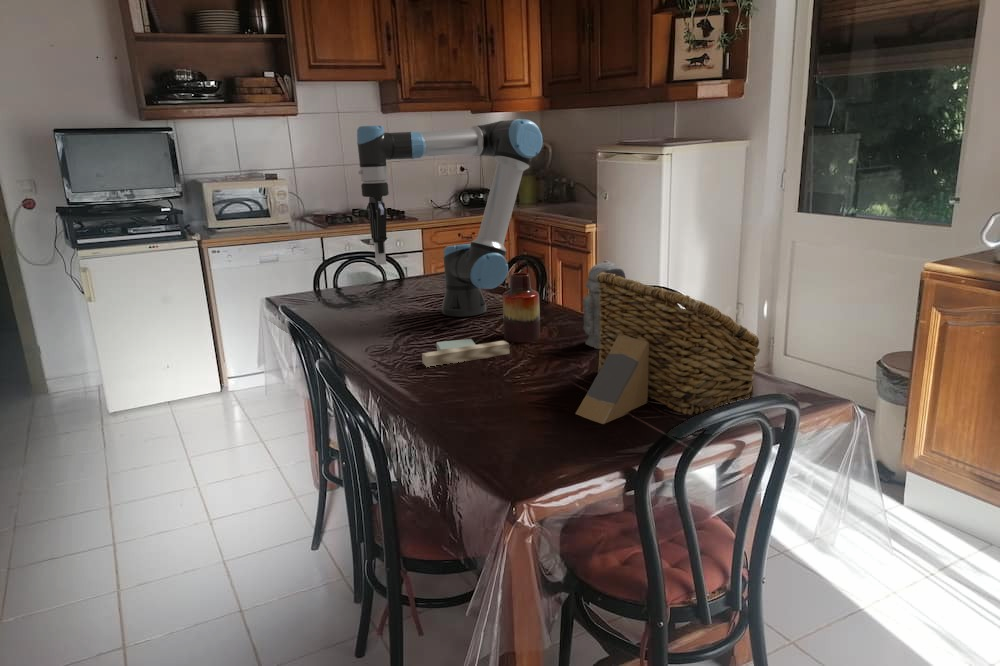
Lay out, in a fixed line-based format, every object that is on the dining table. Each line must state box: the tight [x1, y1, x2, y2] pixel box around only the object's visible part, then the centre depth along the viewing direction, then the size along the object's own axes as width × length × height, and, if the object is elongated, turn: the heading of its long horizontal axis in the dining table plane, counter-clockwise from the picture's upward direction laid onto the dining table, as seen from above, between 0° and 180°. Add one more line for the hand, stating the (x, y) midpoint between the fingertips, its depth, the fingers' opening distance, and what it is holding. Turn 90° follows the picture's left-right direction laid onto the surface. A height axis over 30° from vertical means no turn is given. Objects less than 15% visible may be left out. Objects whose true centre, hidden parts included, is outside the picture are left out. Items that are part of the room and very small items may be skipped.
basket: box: [596, 272, 761, 416], centre depth 167 cm, size 36×26×27 cm
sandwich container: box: [574, 335, 649, 425], centre depth 155 cm, size 9×15×15 cm, turn 132°
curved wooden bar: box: [421, 340, 511, 368], centre depth 194 cm, size 24×4×4 cm, turn 114°
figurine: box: [582, 259, 627, 350], centre depth 201 cm, size 10×14×25 cm
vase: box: [502, 272, 541, 344], centre depth 210 cm, size 11×11×20 cm
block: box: [436, 338, 477, 351], centre depth 200 cm, size 10×8×4 cm
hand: (381, 264), depth 209 cm, fingers closed
